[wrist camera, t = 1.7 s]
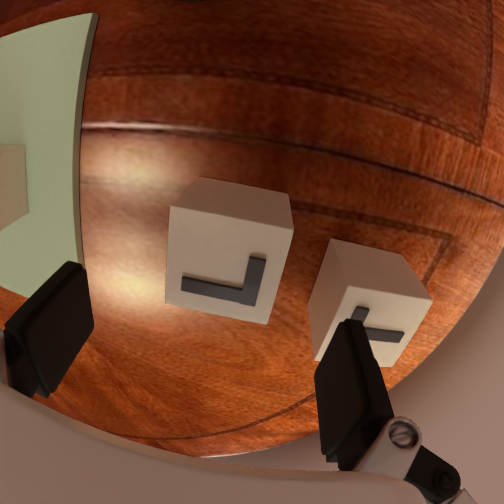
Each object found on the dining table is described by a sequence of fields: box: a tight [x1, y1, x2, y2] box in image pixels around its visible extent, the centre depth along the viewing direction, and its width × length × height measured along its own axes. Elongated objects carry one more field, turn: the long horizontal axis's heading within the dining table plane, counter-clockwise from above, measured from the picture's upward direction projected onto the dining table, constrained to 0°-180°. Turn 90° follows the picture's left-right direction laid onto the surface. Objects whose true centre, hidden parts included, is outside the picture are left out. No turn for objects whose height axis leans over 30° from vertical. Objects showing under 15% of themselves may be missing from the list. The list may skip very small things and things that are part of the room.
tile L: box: [165, 177, 294, 324], centre depth 15 cm, size 5×5×5 cm
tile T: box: [307, 238, 433, 367], centre depth 16 cm, size 5×5×5 cm
